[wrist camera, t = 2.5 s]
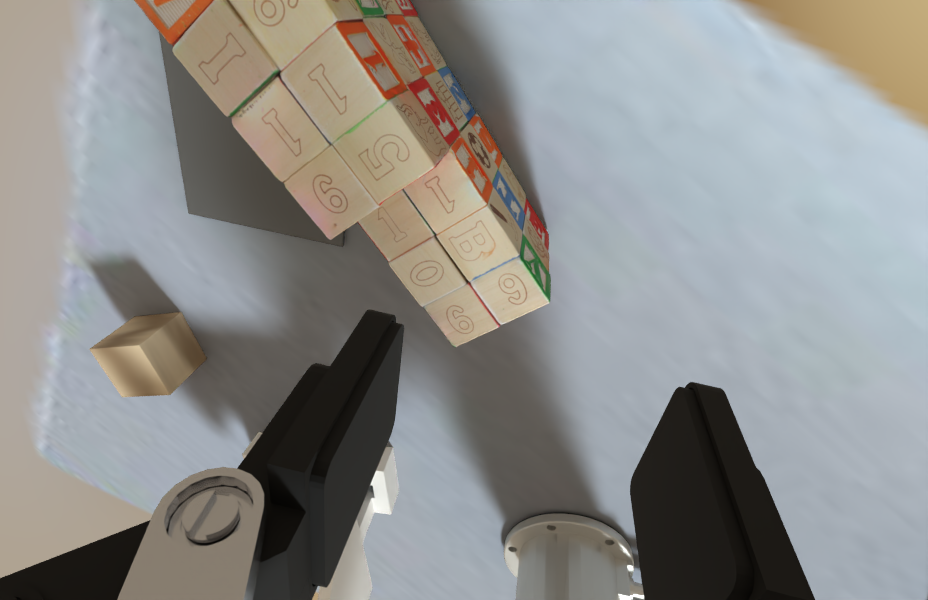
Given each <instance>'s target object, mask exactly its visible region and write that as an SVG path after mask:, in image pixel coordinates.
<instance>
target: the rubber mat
mask: <svg viewBox="0 0 928 600" xmlns="http://www.w3.org/2000/svg"><path fill="white" fill-rule="evenodd" d="M159 35H160V41H161V47H162V53H163V59H164V66H165V72H166V78H167V84H168V90H169V96H170V103H171V109H172V115H173V121H174V127H175V133H176V139H177V146H178V152H179V158H180V164H181V170H182V176H183V183H184V189H185V195H186V201H187V207H188V213H189V214H193V215H198V216H203V217H207V218H212V219H216V220H221V221H226V222H230V223H235V224H240V225H244V226H249V227H254V228H258V229H263V230H268V231H272V232H277V233H281V234H286V235H291V236H295V237H300V238H305V239H309V240H314V241H319V242H323V243H328V244H333V245H337V246H343V245H344V231H343V232H342V233H340V234H339V235H337V236H336V237H334V238H333V239H331V240H329V239H328V238H327V237H326V236H325V234H324V233H323V232H322V231H321V230H320V228H319V227H318V226H317V225H316V224H315V223H314V221H313V220H312V219H311V218H310V217H309V215H308V214H307V213H306V212H305V210H304V209H303V208H302V207H301V206H300V205H299V203H298V202H297V201H296V200H295V199H294V197H293V196H292V195H291V194H290V193H289V191H288V190H287V189H286V187H285V185H284V183H283V182H281V181H279V180H278V179H277V178H276V177H275V176H274V175H273V173H272V172H271V171H270V170H269V169H268V167H267V166H266V165H265V164H264V163H263V161H262V160H261V159H260V158H259V157H258V156H257V154H256V153H255V152H254V151H253V149H252V148H251V147H250V146H249V145H248V143H247V142H246V141H245V140H244V139H243V138H242V137H241V135H240V134H239V133H238V131H237V130H236V129H235V128H234V127H233V124H232V119H231V118H230V117H227V116H226V115H224V114H223V112H222V111H221V110H220V109H219V108H218V107H217V105H216V104H215V103H214V102H213V101H212V100H211V98H210V97H209V96H208V95H207V94H206V92H205V91H204V90H203V89H202V87H201V86H200V85H199V84H198V83H197V81H196V80H195V79H194V78H193V77H192V76H191V74H190V73H189V72H188V71H187V70H186V68H185V67H184V66H183V64H182V63H181V62H180V61H179V60H178V59H177V57H176V56H175V55H174V53H173V50H172V49H173V46H172V45H171V44H169V43H168V42H167V40H166V39H165V38H164V37H163V35H162V34H161V33H160V32H159Z"/></svg>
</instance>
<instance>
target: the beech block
mask: <svg viewBox="0 0 928 600" xmlns="http://www.w3.org/2000/svg"><path fill="white" fill-rule="evenodd" d="M90 351H91V352H92V354H93V355H94V357H95V358H96V360H97V361H98V363H99V364H100V365H101V367H102V368H103V370H104V371H105V373H106V374H107V376H108V377H109V379H110V380H111V382H112V383H113V385H114V386H115V387H116V389H117V390H118V392H119V393H120V395H121V396H122V397H135V396H156V395H171V394H172V393H173V392H174V391H175V390H176V389H177V388H178V387H179V386H180V385H181V384H182V383H183V382H184V381H185V380H186V379H187V378H188V377H189V376H190V375H191V374H192V373H193V372H194V371H195V370H196V369H197V368H198V367H199V366H200V365H201V364H202V363H203V362H204V361H205V360H206V359H207V358H206V356H205V354H204V353H203V351H202V349H201V347H200V345H199V344H198V342H197V340H196V338H195V336H194V334H193V333H192V331H191V329H190V327H189V325H188V324H187V322H186V320H185V318H184V316H183V315H182V313H181V312H177V313H166V314H156V315H146V316H135V317H133V318H132V319H131V320H129V321H128V322H126V323H125V324H124V325H122V326H121V327H120V328H118V329H117V330H115V331H114V332H113V333H111V334H110V335H108V336H107V337H106V338H104V339H103V340H101V341H100V342H99V343H97V344H96V345H94V346H93V347H92V348H90Z"/></svg>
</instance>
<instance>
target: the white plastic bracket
mask: <svg viewBox="0 0 928 600" xmlns="http://www.w3.org/2000/svg"><path fill="white" fill-rule="evenodd" d="M261 434H262V432H258V433H257V435H256V436H255V437H254V439H253V440H252V442H251V443H250V444H249V446H248V447H247V449H246V450H245V451H244V453H243V454H242V455H243V458H245V457H246V456H247V454H248V453H249V451H250V450H251V449H252V447H253V446H254V444H255V443H256V441H257V440H258V439H259V437H260V436H261ZM398 493H399V483H398V476H397V470H396V463H395V457H394V450H393V447H386V448H385V450H384V453H383V455H382V457H381V460H380V462H379V465H378V467H377V470H376V472H375V475H374V477H373V479H372V482H371V484H370V487H369V489H368V492H367V494H366V497H365V499H364V501H363V504H362V506H361V509H360V511H359V514H358V516H357V519H356V521H355V523H354V526H353V528H352V531H351V533H350V536H349V538H348V541H347V543H346V546H345V548H344V550H343V553H342V555H341V558H340V560H339V563H338V565H337V568H336V570H335V572H334V575H333V577H332V580H331V582H330V584H329V585H328V587H327V588H325V587H322V586H320V590H319V595H318V600H369V597H370V594H371V591H372V588H373V587H372V582H371V578H370V574H369V569H368V565H367V560H366V556H365V552H364V547H363V541H364V538H365V536H366V533H367V531H368V528H369V525H370V523H371V520H372V517H373V515H374V512H375V513H383V514H390V515H391V513H392V510H393V507H394V504H395V501H396V498H397V496H398Z"/></svg>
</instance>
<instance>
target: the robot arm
mask: <svg viewBox="0 0 928 600" xmlns="http://www.w3.org/2000/svg"><path fill="white" fill-rule="evenodd" d="M403 333H404V325H403V324H399V323H396V317H395V315H391V314H386V313H382V312H377V311H373V310H367V311H366V313H365V314H364V316H363V317H362V319H361V320H360V322H359V323H358V325H357V326H356V328H355V329H354V331H353V332H352V334H351V335H350V337H349V339H348V340H347V342H346V343H345V345H344V346H343V348H342V349H341V351H340V352H339V354H338V355H337V357H336V358H335V360H334V361H333V363H332V364H331V366H326V365H321V364H317V363H315V364H313V365H311V367H310V368H309V369H308V370H307V371H306V373H305V374H304V375H303V377H302V378H301V380H300V381H299V382H298V384H297V385H296V387H295V388H294V389H293V391H292V392H291V394H290V395H289V397H288V398H287V399H286V401H285V402H284V404H283V405H282V406H281V408H280V409H279V411H278V412H277V413H276V415H275V416H274V418H273V419H272V420H271V422H270V423H269V425H268V426H267V427H266V429H265V430H264V432H263V433H262V434H261V436H260V437H259V439H258V440H257V441H256V443H255V444H254V446H253V447H252V449H251V450H250V451H249V453H248V454H247V456H246V457H245V458H244V460H243V461H242V463H241V464H240V465H239V467H238V468H237V469H235V468H226V467H222V468H215V469H207V470H205V471H202V472H199V473H196V474H193V475H191V476H189V477H188V478H186V479H184V480H183V481H181V482H179V483H178V484H176V485H175V486H174V487H173V488H172V489H171V490H170V491H169V492H168V493H167V494H166V495H165V496H164V497H163V498H162V499H161V501H160V503H159V504H158V506H157V508H156V509H155V511H154V513H153V516H152V518H151V520H150V521H147V522H145V523H142V524H139V525H137V526H134V527H132V528H129V529H126V530H124V531H122V532H119V533H116V534H114V535H111V536H109V537H106V538H103V539H101V540H98V541H95V542H93V543H90V544H88V545H85V546H83V547H80V548H77V549H75V550H72V551H70V552H67V553H64V554H62V555H60V556H57V557H54V558H51V559H49V560H46V561H44V562H41V563H39V564H36V565H33V566H31V567H28V568H26V569H23V570H20V571H18V572H15V573H13V574H10V575H8V576H5V577H2V578H0V600H312V598H313V596H314V593H315V591H316V589H317V586H322V587H325V588H327V587H328V585H329V584H330V582H331V580H332V577H333V575H334V572H335V570H336V568H337V565H338V563H339V560H340V558H341V555H342V553H343V550H344V548H345V546H346V543H347V541H348V538H349V536H350V533H351V531H352V528H353V526H354V523H355V521H356V519H357V516H358V514H359V511H360V509H361V506H362V504H363V501H364V499H365V497H366V494H367V492H368V489H369V487H370V484H371V482H372V479H373V477H374V475H375V472H376V470H377V467H378V465H379V462H380V460H381V457H382V455H383V453H384V450H385V448H386V445H387V443H388V440H389V438H390V435H391V433H392V429H393V426H394V421H395V414H396V404H397V394H398V383H399V373H400V363H401V353H402V343H403ZM630 495H631V503H632V510H633V518H634V525H635V533H636V540H637V548H638V555H639V563H640V570H641V578H642V584H640V583H636V582H634V581H633V579H632V575H633V572H634V560H633V554H632V550H631V548H630V546H629V544H628V542H627V541H626V540H625V539H624V538H623V537H622V536H621V535H620V534H619V533H618V532H616V531H615V530H614V529H612V528H611V527H609V526H607V525H605V524H603V523H601V522H599V521H596V520H594V519H591V518H588V517H584V516H579V515H573V514H565V513H552V514H544V515H539V516H535V517H532V518H529V519H527V520H524V521H522V522H520V523H519V524H518V525H516V526H515V527H513V528H512V530H511V531H510V532H509V533H508V535H507V538H506V540H505V546H504V559H505V562H506V564H507V567H508V568H509V569H510V571H511V572H512V574H513V575H515V576H516V577H517V587H516V599H515V600H815V598H814V596H813V594H812V591H811V589H810V586H809V584H808V582H807V579H806V577H805V575H804V572H803V570H802V567H801V565H800V563H799V560H798V558H797V556H796V553H795V551H794V548H793V546H792V544H791V541H790V539H789V537H788V534H787V532H786V529H785V527H784V525H783V522H782V520H781V517H780V515H779V513H778V510H777V508H776V506H775V503H774V501H773V498H772V496H771V494H770V491H769V489H768V487H767V484H766V482H765V479H764V477H763V476H762V474H761V472H760V471H759V470H758V469H757V468H756V466H755V464H754V462H753V459H752V457H751V454H750V452H749V450H748V447H747V445H746V442H745V440H744V437H743V435H742V433H741V430H740V428H739V425H738V423H737V420H736V418H735V416H734V413H733V411H732V408H731V406H730V404H729V401H728V399H727V396H726V394H725V392H724V391H723V390H722V389H720V388H716V387H712V386H707V385H703V384H698V383H694V382H691V383H689V384H687V385H686V387H685V388H683V387H678V388H677V389H676V390H675V392H674V394H673V396H672V398H671V400H670V402H669V404H668V406H667V408H666V410H665V412H664V414H663V416H662V418H661V420H660V422H659V424H658V426H657V428H656V430H655V432H654V434H653V436H652V438H651V440H650V442H649V444H648V446H647V448H646V450H645V452H644V454H643V456H642V458H641V460H640V462H639V464H638V466H637V468H636V470H635V472H634V474H633V476H632V479H631V485H630Z"/></svg>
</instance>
